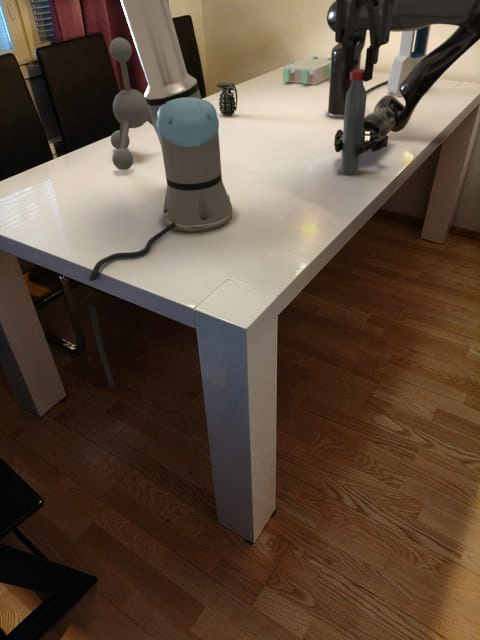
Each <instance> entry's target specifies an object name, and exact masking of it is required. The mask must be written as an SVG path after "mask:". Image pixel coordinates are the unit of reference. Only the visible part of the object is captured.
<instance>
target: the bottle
mask: <svg viewBox="0 0 480 640" xmlns="http://www.w3.org/2000/svg"><path fill="white" fill-rule="evenodd" d="M364 82H365V81H364V80H361V81H354V80H352V84H351V86H350V88H349V89H348V91H347V94H346V101H345V114H344V118H343V127H342V128H343V129H342V131H343V139H342V150H341V151H340V152H341V153H340V165H339V166H340V167H339V173H341V174H342V175H346V176H353V175H357V174H358V173H359V171H360V164H361V155H362V154H360V155H356V151H357V146H358V145H359V144H361V143H362V136H363V126H364V118H365V117H366V105H367V97H368V96H367V94H368V93H367V92H366V91H367V89H366V88H365V85H364Z"/></svg>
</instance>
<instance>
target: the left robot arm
mask: <svg viewBox="0 0 480 640" xmlns="http://www.w3.org/2000/svg"><path fill="white" fill-rule="evenodd" d="M335 1H336V2H337V9H336V30H335V32H334V41H335V43H336V44H338V43H340V44H342V46H343V51H342V62H345V68H344V79H349V77H350V71H351V70H353V63H354V51H355V45H351V44H353V41H352V40H353V37H354V33H355V29H356V25H357V21H358V17H359V14H360V11H361V9H362V6H365V7H366V9H367V12H368V20H369V30H368V33H369V44H370V45H369V46H368V47H367V48H366V53H365V62H364V70H365V72H364V81H363V82H366V83H367V82H369V81H371V80H373V75H374V65H377V64H378V62H379V55H380V48H381V46H384V45H386V44H387V45H388V43H389V41H390V36H391V32H390V29H391V22H392V15H393V8H394V2H395V0H385V1H384V5H383V12H382V20H381V28H380V25H379V0H351V4H350V8H349V10H350V13H349V17H348V21H347V25H346V15H347V0H335ZM120 3H121V6H122V9H123V12H124V15H125V18H126V22H127V24H128V27H129V30H130V35H131V36H132V39H133V43H134V46H135V49H136V51H137V55H138V58H139V61H140V65H141V67H142V70H143V73H144V77H145V80H146V82H147V88H146V90H145V92H144V94H143V95H144V96H145V99H146V102H147V105H148V108H149V111H150V113H149V115H150V116H151V117H152V122H153V125H152V127H153V128H154V129H153V130H154V131H155V134H156V135H157V138H158V141H159V144H160V148H161V153H162V159H163V168H164V173H165V180H166V190H165V191H166V192H165V196H164V203H163V207H162V218H163V222H164V224H165V228H163V229H161V231H159V232H157V233H156V234H155V235H154V236H152V237H151V238H150V239H149V240H148V241H147V242H146V244H145V247H144V248H143V249H140V250H138V251H132V252H118V253H117V252H116V253H112V254H111V255H108V256H105V257H103V258H101V259H100V260H98V261H97V262H96V264H95V265H94V267H93V269H92V270H91V273H90V276H89V279H88V281H89V282H94V281H95V280H96V278H97V274H98V272H99V271H100V269H101V267H103V266H104V265H105V264H107V263H109V262H111V261H113V260H117V259H125V258H126V259H127V258H138V257H141V256H143V255H145V254H147V253H148V252H149V251H150V249H151V248H152V245H153V244H154V243H155V242H156V241H157V240H159V239H160V238H162V237H163V236H165V235H166V234H167V233H168V232H170V231H171V230H173V231H177V232H180V233H190V234H191V233H192V234H193V233H194V234H195V233H196V234H197V233H205V232H206V233H207V232H210V231H215V230H216V229H220V228H222V227H224V226H226V225H227V224H228V223H230V221H231V220H232V218H233V216H234V212H233V211H234V210H233V205H232V201H231V196H230V194H229V193H228V192H227V190H226V187H225V184H224V182H223V175H222V174H223V173H222V164H221V163H222V161H221V147H220V146H221V145H220V134H219V128H220V122H219V118H218V114H217V109H216V108H215V105H213V103H211V102H210V101H208V100H207V99H206V100H205V99H202V95H201V92H200V88H199V84H198V80H197V79H196V78H195V77H194V76H192V75H191V74H189V73H188V71H187V67H186V64H185V60H184V57H183V52H182V50H181V46H180V42H179V38H178V35H177V31H176V27H175V23H174V21H173V17H172V14H171V13H172V12H171V9H170V5H169V2H168V0H120ZM89 309H90V310H89V311H90V316H91V318H90V319H91V324H92V330H93V333H94V339H95V341H96V345H97V348H98V352H99V355H100V358H101V361H102V364H103V368H104V371H105V374H106V377H107V381H108V385H109V387H114V386H115V382H114V378H113V374H112V371H111V368H110V365H109V361H108V359H107V354H106V352H105V349H104V345H103V341H102V337H101V333H100V328H99V323H98V317H97V309H96V306H93V305H91V304H90V305H89Z"/></svg>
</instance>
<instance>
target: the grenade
mask: <svg viewBox="0 0 480 640" xmlns="http://www.w3.org/2000/svg"><path fill="white" fill-rule="evenodd" d="M215 87H217V88H219V89H221V93H219V97H218V101H219V102H218V106H219V108H218V109H219V112H220V114H221V115H222V116H224V117H231V116H233V115H234V113H235V112H236V111H237V108H238V89H237V87H236V85H235V84H234V83H233V82H218V83H217V84H216V86H215ZM232 91H233V92H232ZM234 94H235V96H234Z"/></svg>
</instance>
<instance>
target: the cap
mask: <svg viewBox="0 0 480 640" xmlns="http://www.w3.org/2000/svg"><path fill="white" fill-rule="evenodd" d="M364 72H365V68H364V69H362V68H360V69H354V70H351V71H350V77H349V79H350V80H354V81H361V80H364Z"/></svg>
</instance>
